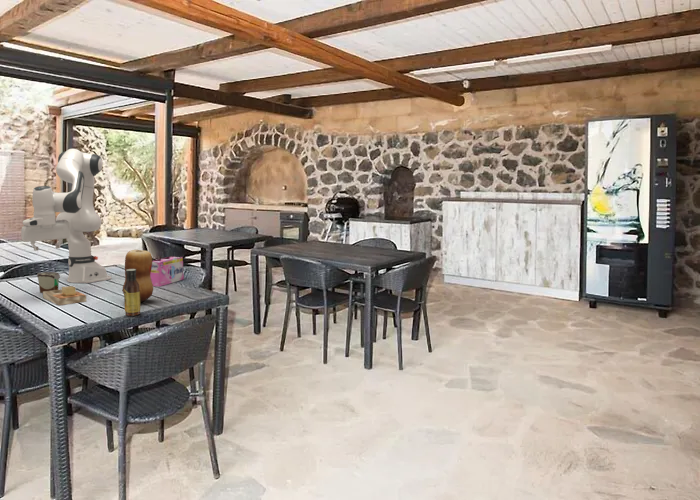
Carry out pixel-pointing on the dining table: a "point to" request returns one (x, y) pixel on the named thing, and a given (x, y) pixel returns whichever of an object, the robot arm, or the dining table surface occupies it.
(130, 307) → the sauce bottle
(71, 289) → the brass peg
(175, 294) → the dining table surface
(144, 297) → the butternut squash
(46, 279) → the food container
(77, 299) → the rail
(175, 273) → the gum box
